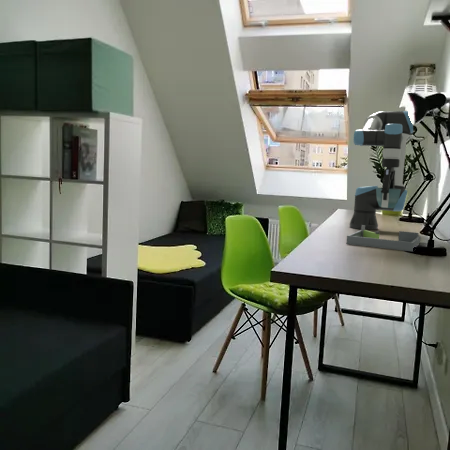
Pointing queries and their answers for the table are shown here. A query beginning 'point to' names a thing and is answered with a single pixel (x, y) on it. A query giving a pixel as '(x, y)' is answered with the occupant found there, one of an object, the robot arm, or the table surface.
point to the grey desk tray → (404, 243)
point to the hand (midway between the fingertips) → (386, 206)
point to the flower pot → (393, 197)
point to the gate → (371, 234)
